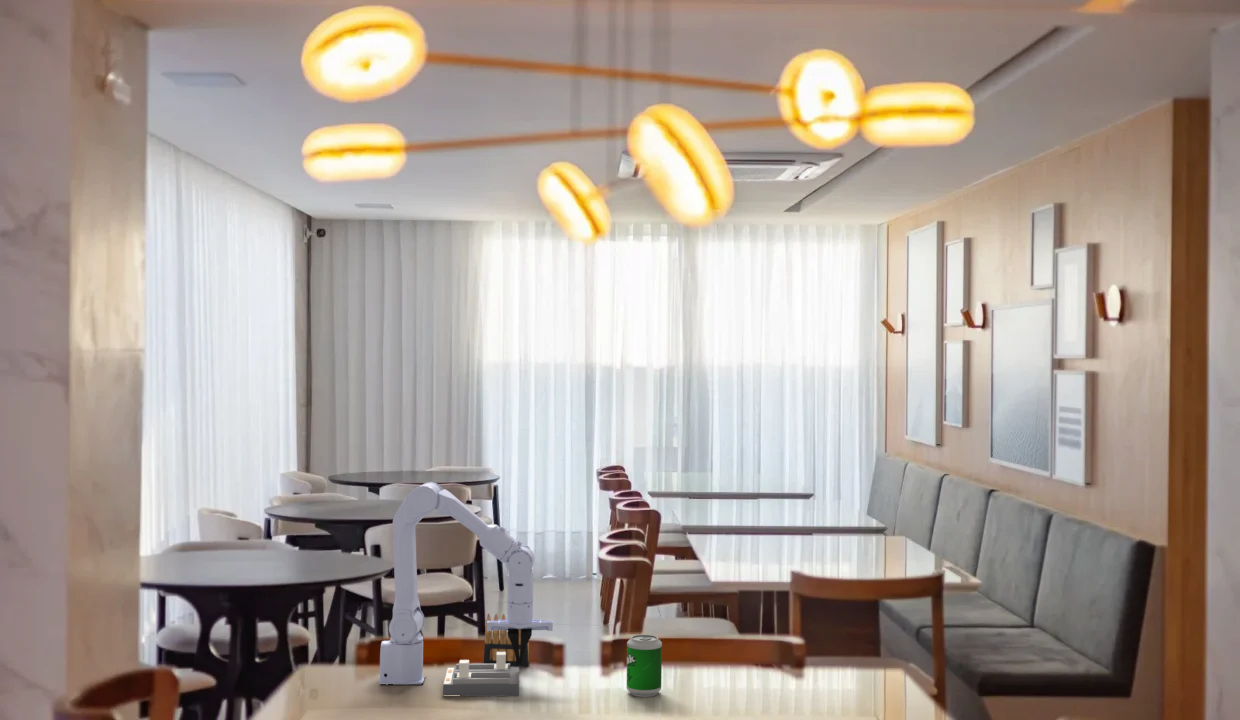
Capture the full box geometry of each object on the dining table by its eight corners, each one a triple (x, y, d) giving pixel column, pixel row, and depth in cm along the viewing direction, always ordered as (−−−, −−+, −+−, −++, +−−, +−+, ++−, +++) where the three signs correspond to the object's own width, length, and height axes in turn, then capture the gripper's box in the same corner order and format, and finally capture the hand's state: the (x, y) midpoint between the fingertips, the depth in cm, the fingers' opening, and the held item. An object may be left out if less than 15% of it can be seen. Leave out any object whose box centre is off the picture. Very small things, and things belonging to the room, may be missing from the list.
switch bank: (443, 696, 254) (443, 679, 254) (447, 678, 268) (447, 663, 268) (518, 695, 255) (518, 679, 255) (518, 678, 269) (519, 662, 269)
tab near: (456, 681, 256) (456, 663, 256) (457, 676, 259) (457, 659, 259) (470, 680, 256) (470, 663, 256) (471, 676, 259) (471, 659, 259)
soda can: (665, 690, 260) (666, 635, 260) (655, 699, 253) (656, 643, 253) (632, 687, 263) (633, 632, 263) (621, 696, 256) (622, 640, 256)
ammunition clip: (529, 664, 281) (530, 613, 281) (528, 666, 279) (529, 615, 279) (484, 663, 282) (485, 612, 282) (483, 665, 280) (483, 614, 280)
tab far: (493, 672, 263) (494, 655, 263) (494, 668, 267) (494, 651, 267) (507, 672, 263) (507, 655, 263) (507, 667, 267) (508, 651, 267)
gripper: (486, 605, 261) (486, 667, 261) (553, 605, 262) (552, 667, 262) (487, 598, 268) (487, 659, 268) (552, 598, 269) (551, 659, 269)
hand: (519, 662), depth 265 cm, fingers closed
